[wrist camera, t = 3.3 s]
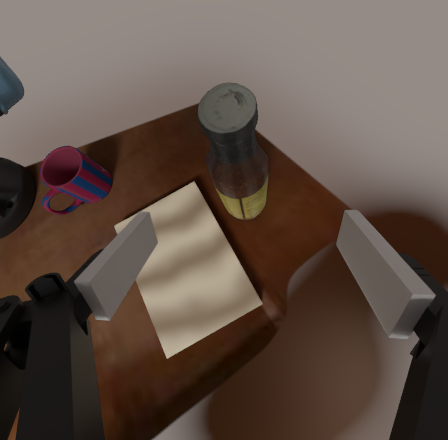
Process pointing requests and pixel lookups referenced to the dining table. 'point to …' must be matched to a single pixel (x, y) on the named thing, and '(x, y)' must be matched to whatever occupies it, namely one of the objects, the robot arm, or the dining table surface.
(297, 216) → the dining table surface
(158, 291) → the birch board
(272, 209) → the dining table surface
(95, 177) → the mug
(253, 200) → the sauce bottle
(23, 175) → the robot arm
